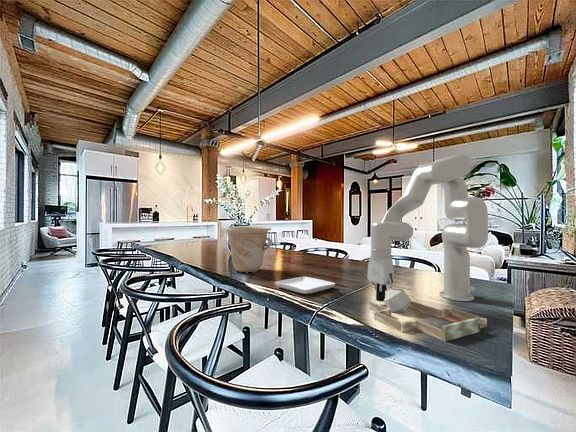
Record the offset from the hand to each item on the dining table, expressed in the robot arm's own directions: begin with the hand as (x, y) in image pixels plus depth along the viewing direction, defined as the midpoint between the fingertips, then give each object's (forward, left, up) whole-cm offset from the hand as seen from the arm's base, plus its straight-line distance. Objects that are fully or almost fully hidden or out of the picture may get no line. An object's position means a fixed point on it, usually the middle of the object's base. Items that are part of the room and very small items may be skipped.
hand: (380, 300), depth 112 cm
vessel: (+27, -85, -2) cm, 89 cm away
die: (0, +8, -2) cm, 8 cm away
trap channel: (0, +17, -2) cm, 17 cm away
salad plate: (+15, -34, -2) cm, 37 cm away
